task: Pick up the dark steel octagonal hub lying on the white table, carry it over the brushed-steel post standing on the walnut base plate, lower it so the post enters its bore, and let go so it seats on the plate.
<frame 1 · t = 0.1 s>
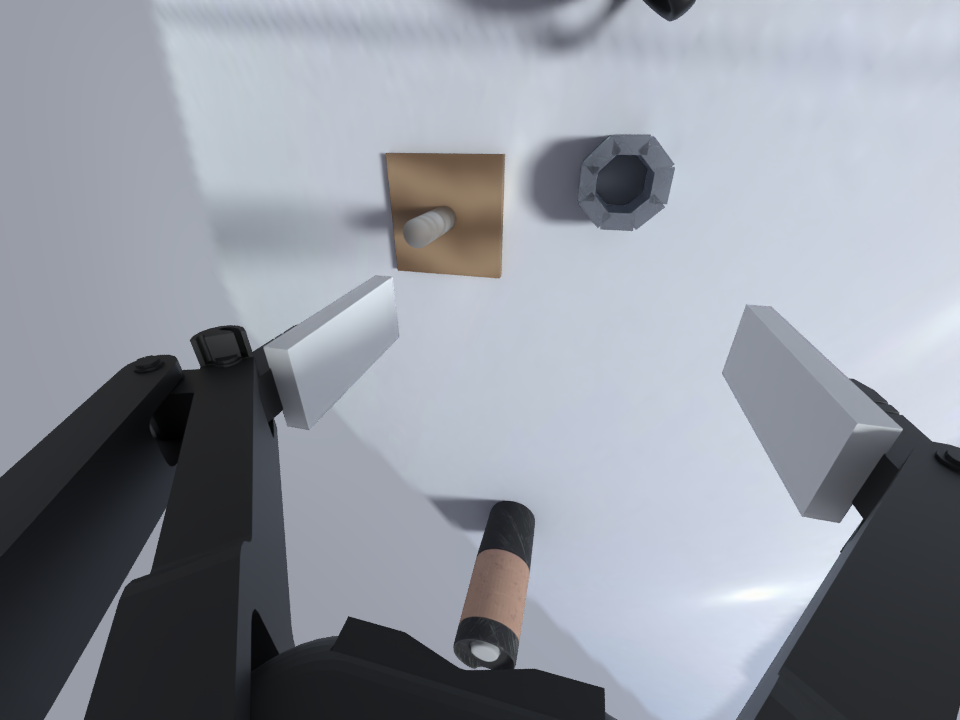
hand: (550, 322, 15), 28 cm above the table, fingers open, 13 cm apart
travel mug: (512, 515, 62), on the table
hub: (620, 179, 37), on the table
shaft stand: (447, 216, 42), on the table
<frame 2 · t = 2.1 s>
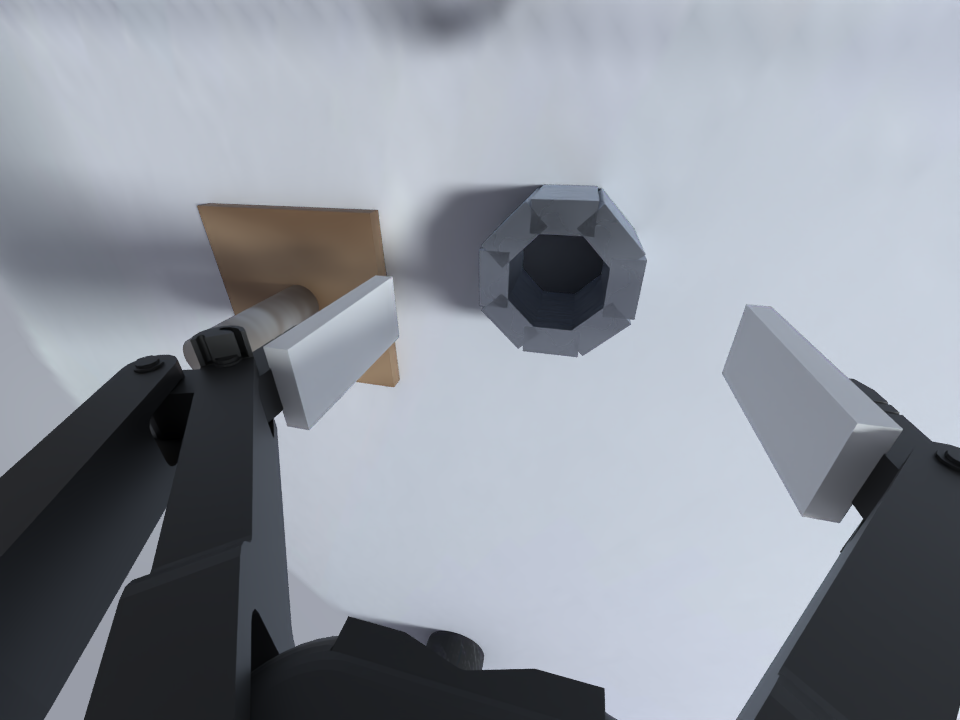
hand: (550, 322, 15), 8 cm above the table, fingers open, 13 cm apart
travel mug: (456, 645, 49), on the table
hub: (563, 255, 22), on the table
shaft stand: (310, 297, 27), on the table
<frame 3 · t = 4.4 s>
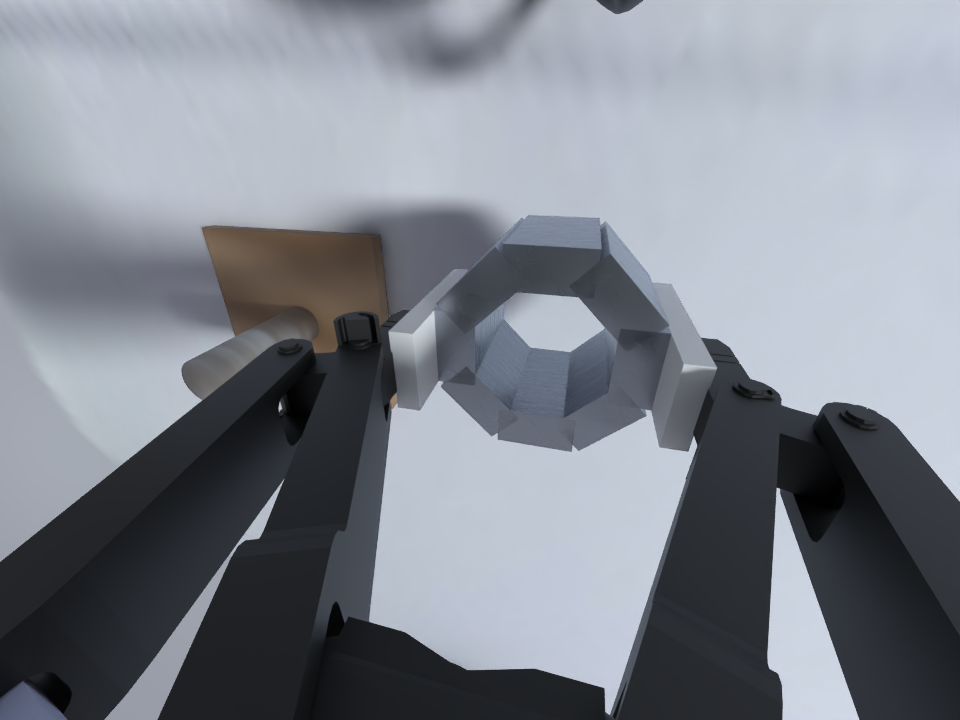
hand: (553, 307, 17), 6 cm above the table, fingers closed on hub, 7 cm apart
hub: (554, 304, 17), point 6 cm above the table, touching gripper
shaft stand: (311, 318, 28), on the table
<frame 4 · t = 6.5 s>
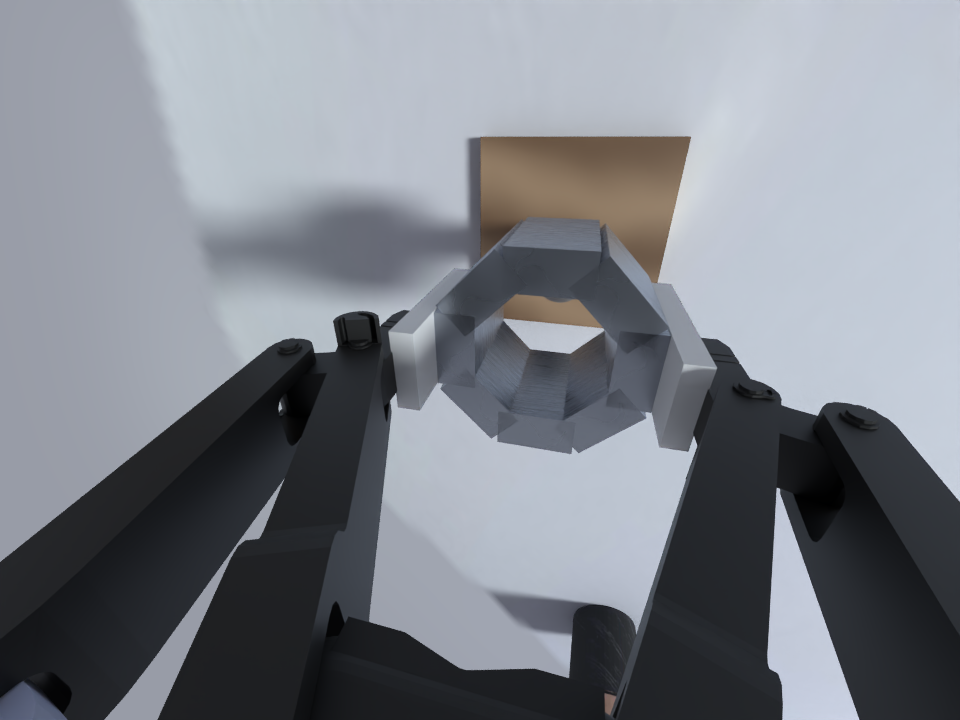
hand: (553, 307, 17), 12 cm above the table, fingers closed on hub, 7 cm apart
travel mug: (603, 620, 48), on the table
hub: (554, 306, 17), point 12 cm above the table, touching gripper
shaft stand: (569, 237, 27), on the table
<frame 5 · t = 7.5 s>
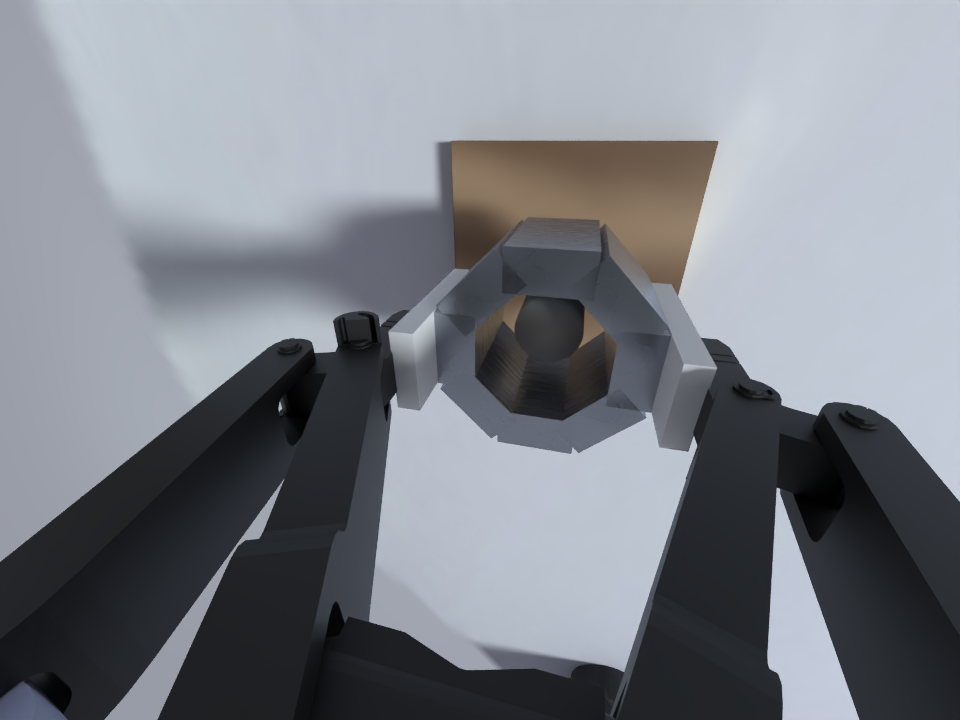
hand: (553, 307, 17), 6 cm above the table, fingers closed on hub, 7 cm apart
travel mug: (604, 680, 42), on the table
hub: (554, 306, 17), point 6 cm above the table, touching gripper
shaft stand: (563, 263, 22), on the table
when the fingers open (3 cm above the table, at t = 8.5 s): hub drops 2 cm, resting on shaft stand.
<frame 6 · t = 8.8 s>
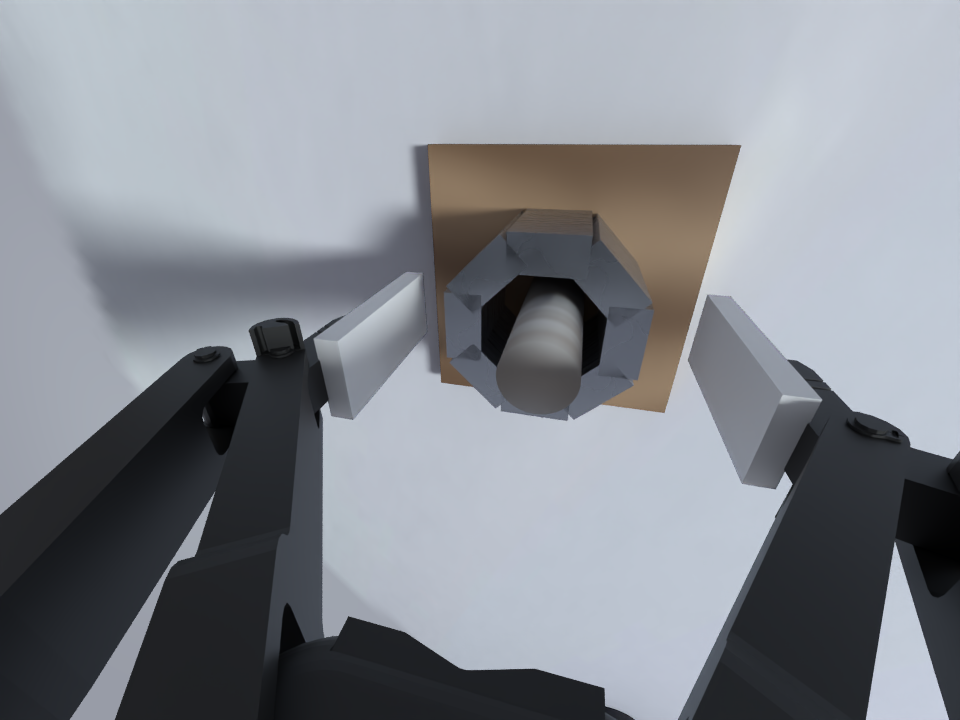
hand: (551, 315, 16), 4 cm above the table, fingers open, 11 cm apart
hub: (551, 290, 18), point 1 cm above the table, touching shaft stand
shaft stand: (558, 284, 19), on the table
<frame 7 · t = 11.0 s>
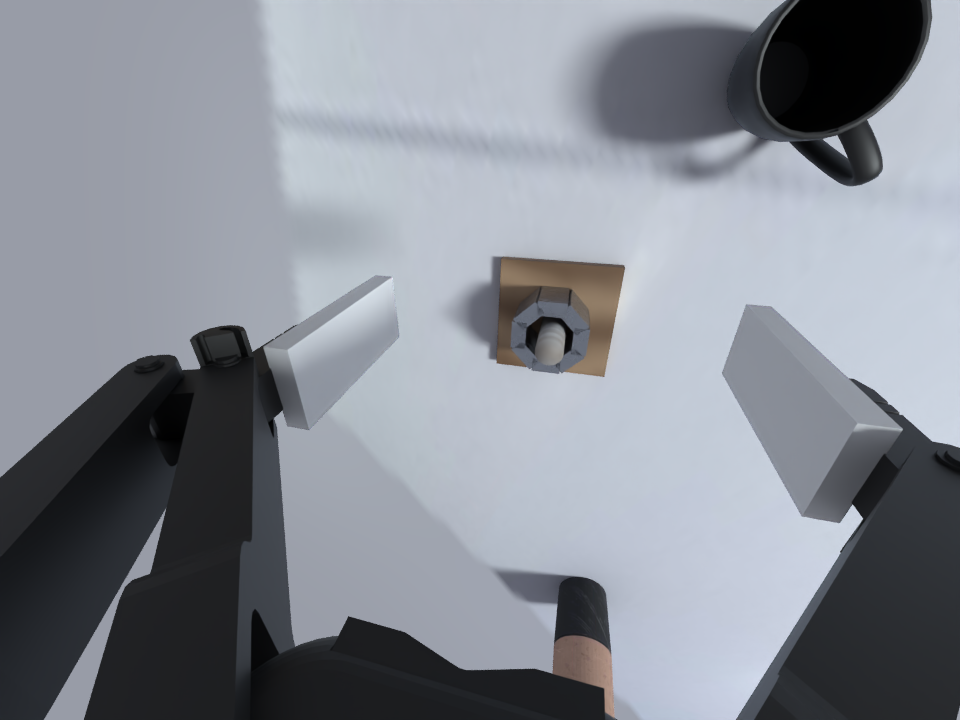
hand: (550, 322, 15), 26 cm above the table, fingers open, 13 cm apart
travel mug: (582, 590, 62), on the table
mug: (774, 108, 31), on the table
hub: (552, 319, 41), point 1 cm above the table, touching shaft stand
shaft stand: (555, 316, 42), on the table
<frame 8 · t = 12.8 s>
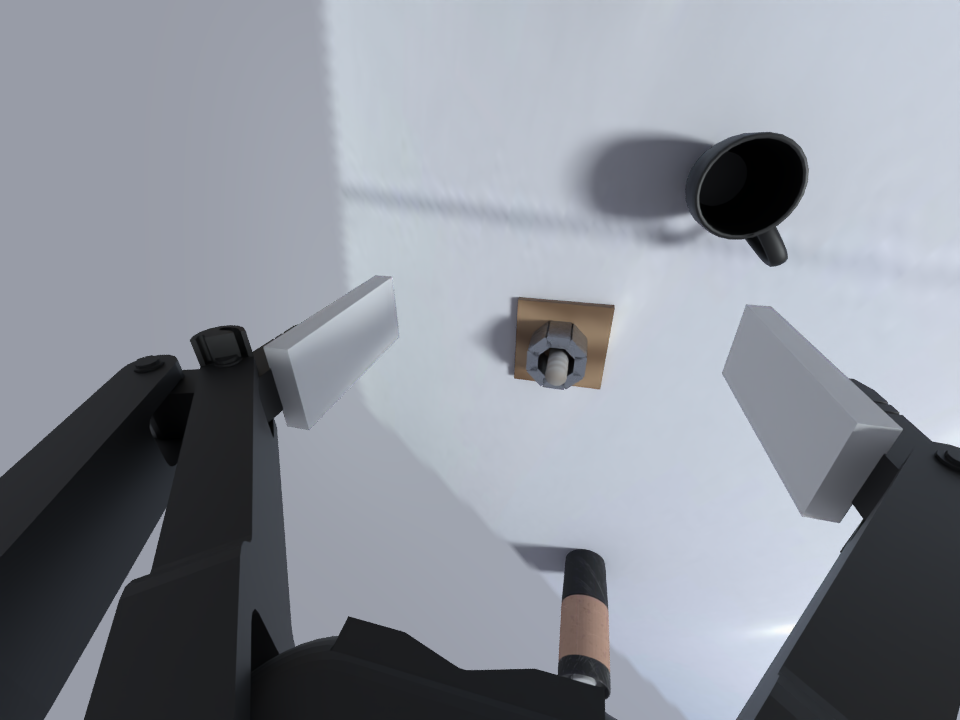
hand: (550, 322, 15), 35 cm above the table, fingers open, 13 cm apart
travel mug: (585, 560, 74), on the table
mug: (724, 195, 41), on the table
hub: (558, 345, 53), point 1 cm above the table, touching shaft stand
shaft stand: (560, 342, 53), on the table
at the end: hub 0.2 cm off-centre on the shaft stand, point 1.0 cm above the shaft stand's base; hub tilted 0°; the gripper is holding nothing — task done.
